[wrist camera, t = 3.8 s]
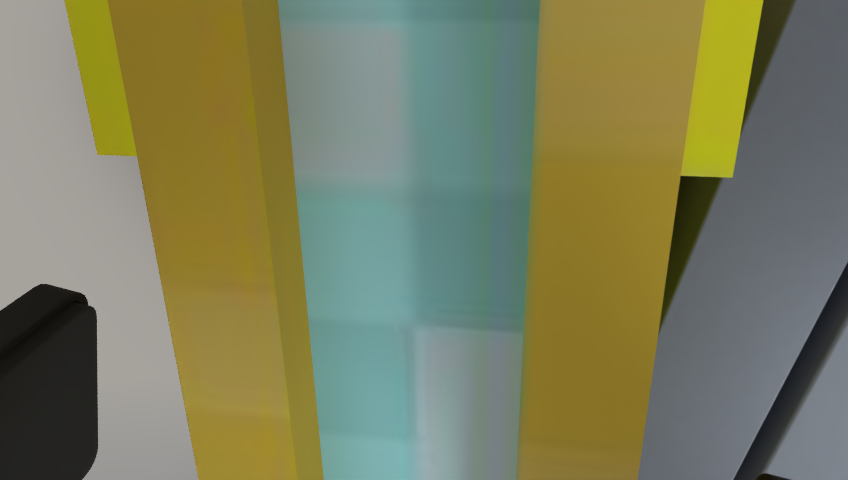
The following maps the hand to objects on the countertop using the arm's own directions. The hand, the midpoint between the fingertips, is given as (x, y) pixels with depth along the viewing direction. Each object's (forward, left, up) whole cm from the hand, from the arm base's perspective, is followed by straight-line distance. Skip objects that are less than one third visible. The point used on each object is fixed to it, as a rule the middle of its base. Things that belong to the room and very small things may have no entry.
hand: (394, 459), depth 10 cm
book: (0, 0, -24) cm, 24 cm away
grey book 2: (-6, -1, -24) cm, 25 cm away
